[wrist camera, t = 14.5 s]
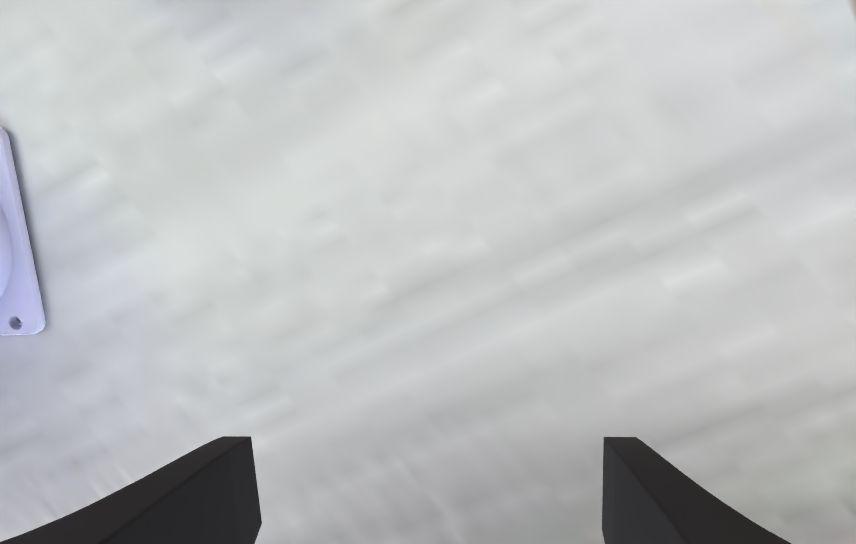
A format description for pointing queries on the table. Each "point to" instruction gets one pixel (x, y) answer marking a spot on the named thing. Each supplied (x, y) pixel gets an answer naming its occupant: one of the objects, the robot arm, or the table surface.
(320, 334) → the table surface
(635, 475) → the robot arm
